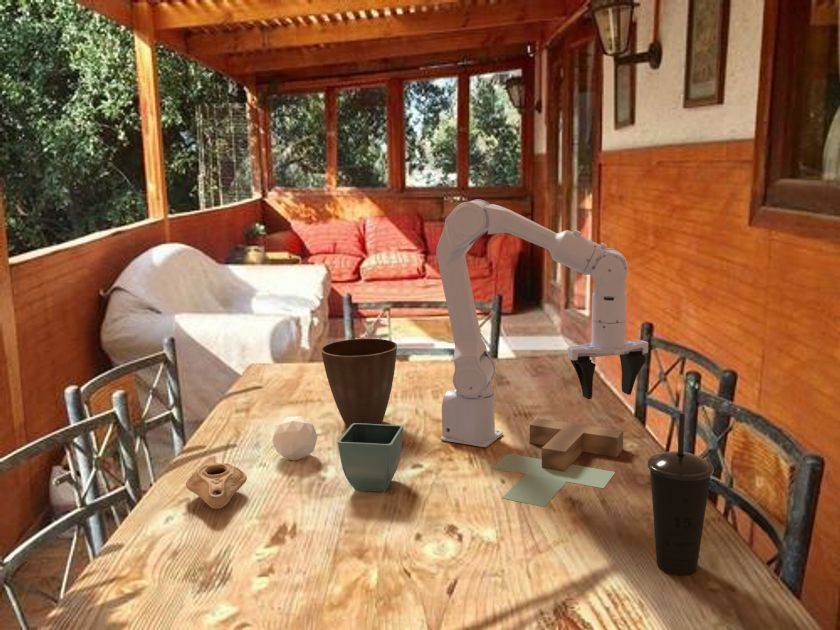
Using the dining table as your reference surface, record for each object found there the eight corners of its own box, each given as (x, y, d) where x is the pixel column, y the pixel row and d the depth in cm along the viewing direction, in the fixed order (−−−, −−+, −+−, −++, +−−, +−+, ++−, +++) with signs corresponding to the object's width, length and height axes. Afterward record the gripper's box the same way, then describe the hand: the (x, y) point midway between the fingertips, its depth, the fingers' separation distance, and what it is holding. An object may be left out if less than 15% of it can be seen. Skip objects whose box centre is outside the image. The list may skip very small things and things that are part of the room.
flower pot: (393, 499, 116) (391, 444, 114) (339, 495, 118) (336, 441, 116) (406, 476, 125) (404, 424, 123) (355, 473, 126) (352, 422, 125)
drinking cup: (635, 552, 98) (639, 406, 94) (692, 548, 99) (698, 403, 95) (658, 584, 91) (664, 427, 87) (719, 579, 91) (728, 423, 87)
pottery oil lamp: (189, 523, 110) (170, 478, 110) (205, 514, 121) (188, 473, 122) (245, 496, 111) (226, 452, 111) (255, 490, 123) (238, 450, 123)
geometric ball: (293, 468, 136) (294, 425, 140) (326, 460, 132) (326, 416, 136) (262, 460, 131) (264, 416, 134) (295, 451, 127) (296, 406, 130)
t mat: (466, 491, 118) (466, 490, 118) (508, 454, 133) (508, 453, 133) (584, 515, 109) (584, 514, 109) (615, 472, 123) (615, 471, 123)
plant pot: (311, 432, 147) (306, 353, 143) (347, 408, 160) (343, 336, 157) (381, 440, 141) (377, 358, 138) (411, 415, 154) (408, 340, 151)
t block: (508, 461, 129) (508, 442, 128) (537, 436, 141) (537, 418, 140) (600, 478, 121) (600, 457, 120) (622, 449, 133) (623, 430, 132)
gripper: (580, 328, 124) (579, 406, 127) (658, 321, 128) (656, 397, 130) (562, 319, 131) (561, 394, 134) (637, 313, 134) (634, 386, 137)
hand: (607, 395), depth 132 cm, fingers open, 7 cm apart
